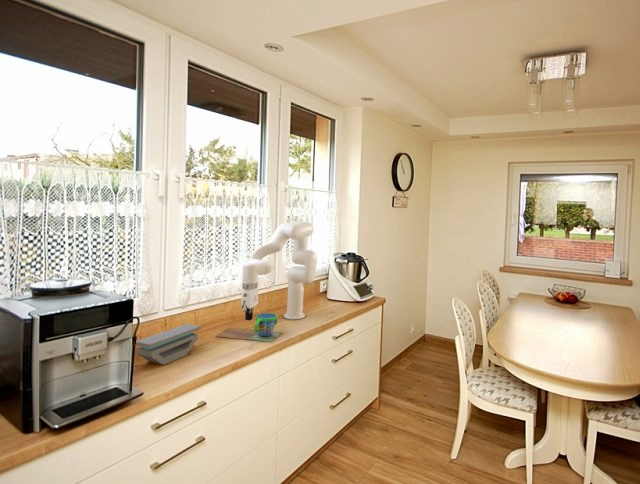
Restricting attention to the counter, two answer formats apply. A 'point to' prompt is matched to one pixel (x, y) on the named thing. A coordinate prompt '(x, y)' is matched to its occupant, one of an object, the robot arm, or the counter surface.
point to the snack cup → (265, 324)
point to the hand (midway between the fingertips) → (248, 319)
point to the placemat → (247, 335)
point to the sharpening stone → (168, 344)
